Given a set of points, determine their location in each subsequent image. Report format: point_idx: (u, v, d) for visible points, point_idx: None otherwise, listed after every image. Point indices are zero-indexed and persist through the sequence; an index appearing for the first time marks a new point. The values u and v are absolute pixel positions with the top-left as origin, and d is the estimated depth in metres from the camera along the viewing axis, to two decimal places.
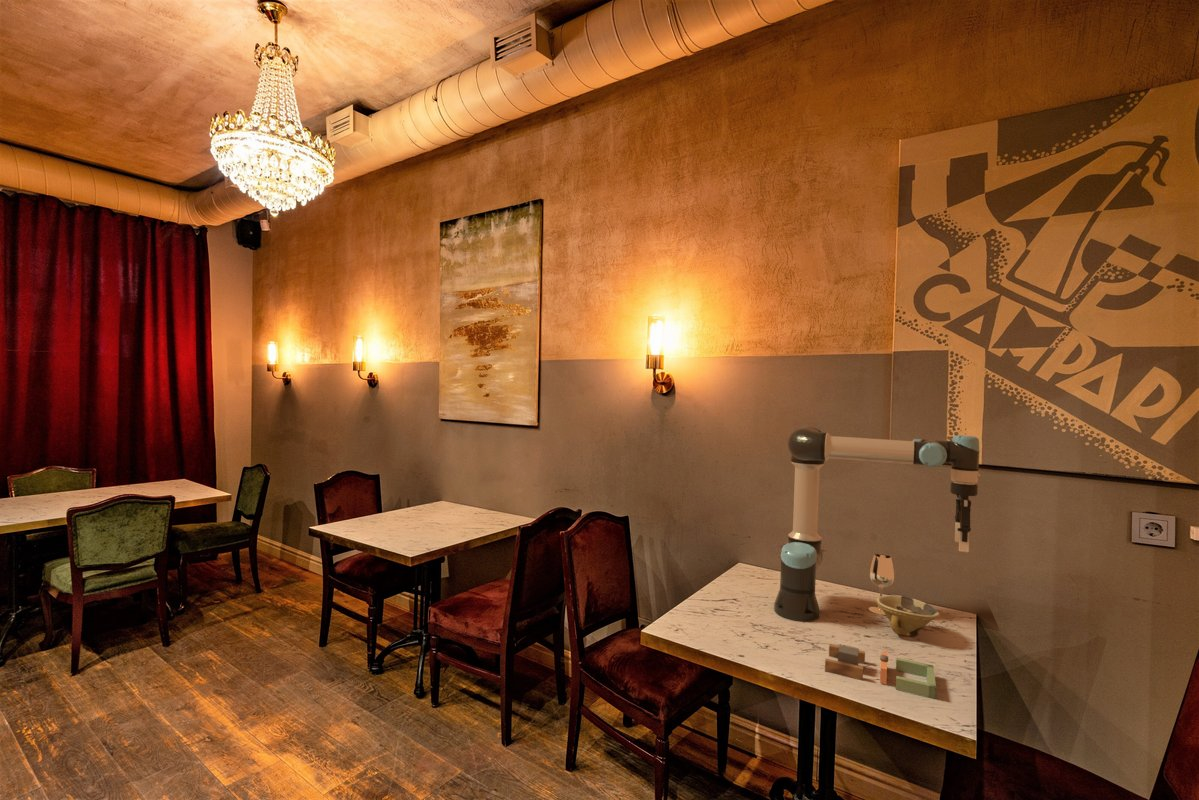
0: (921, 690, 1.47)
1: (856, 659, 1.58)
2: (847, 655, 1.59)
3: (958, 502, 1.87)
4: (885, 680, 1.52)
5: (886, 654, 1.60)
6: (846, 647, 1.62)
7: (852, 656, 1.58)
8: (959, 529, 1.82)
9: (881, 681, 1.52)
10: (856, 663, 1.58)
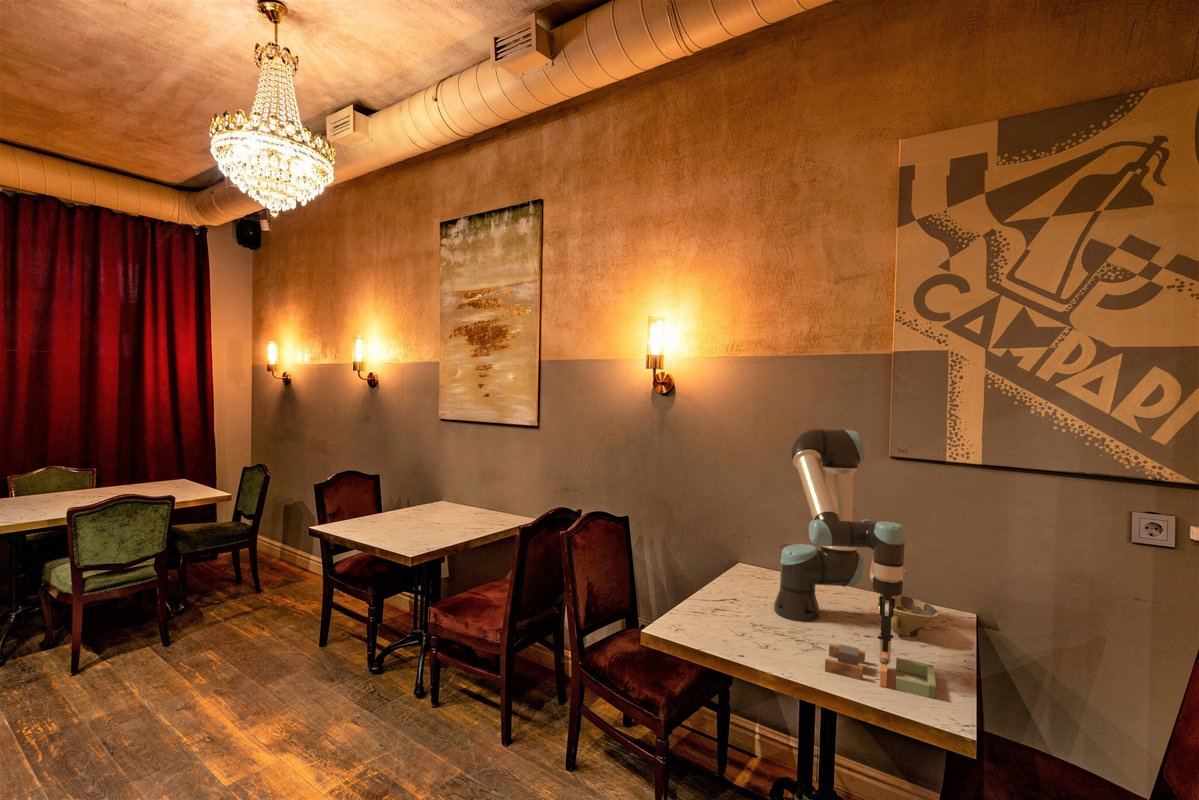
0: (921, 690, 1.47)
1: (856, 659, 1.58)
2: (847, 655, 1.59)
3: (880, 603, 1.59)
4: (885, 683, 1.50)
5: (886, 656, 1.59)
6: (846, 647, 1.62)
7: (852, 656, 1.58)
8: (879, 638, 1.60)
9: (881, 684, 1.51)
10: (856, 663, 1.58)
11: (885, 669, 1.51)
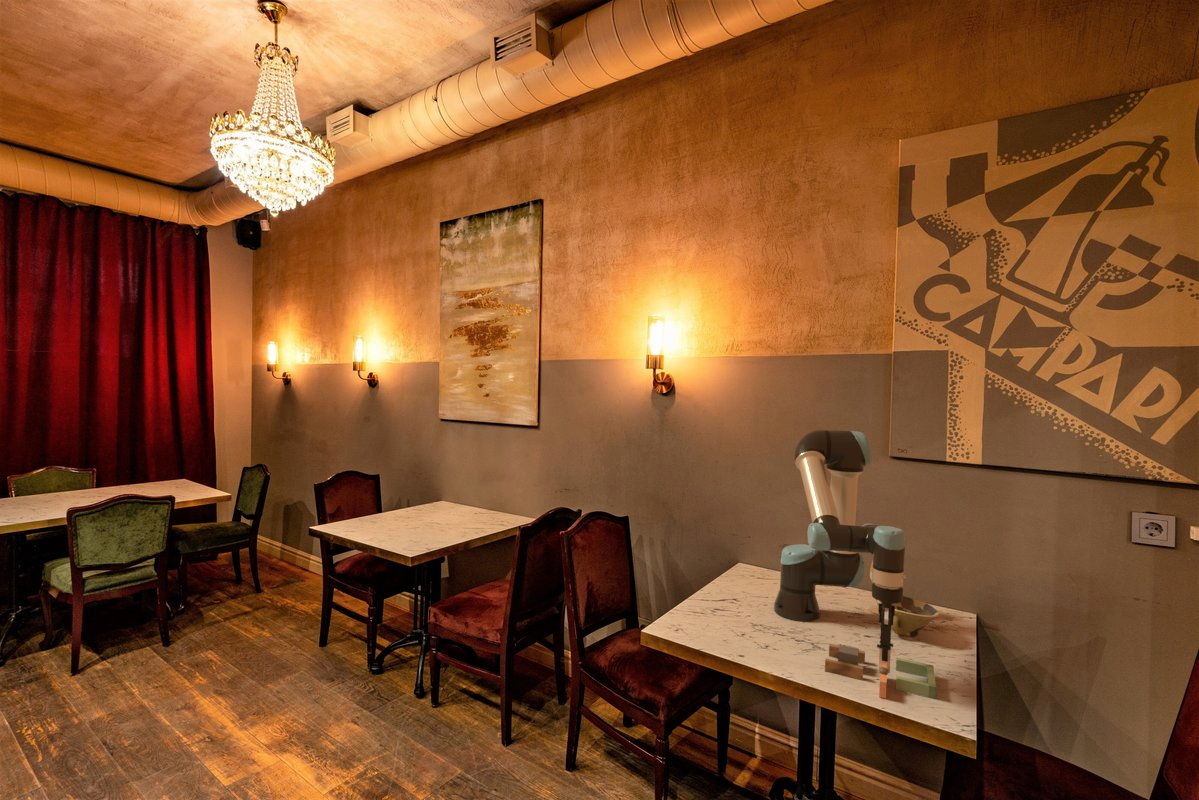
0: (921, 690, 1.47)
1: (856, 659, 1.58)
2: (847, 655, 1.59)
3: (880, 611, 1.54)
4: (884, 694, 1.44)
5: (886, 666, 1.53)
6: (846, 647, 1.62)
7: (852, 656, 1.58)
8: (878, 647, 1.54)
9: (880, 695, 1.45)
10: (856, 663, 1.58)
11: (885, 679, 1.46)
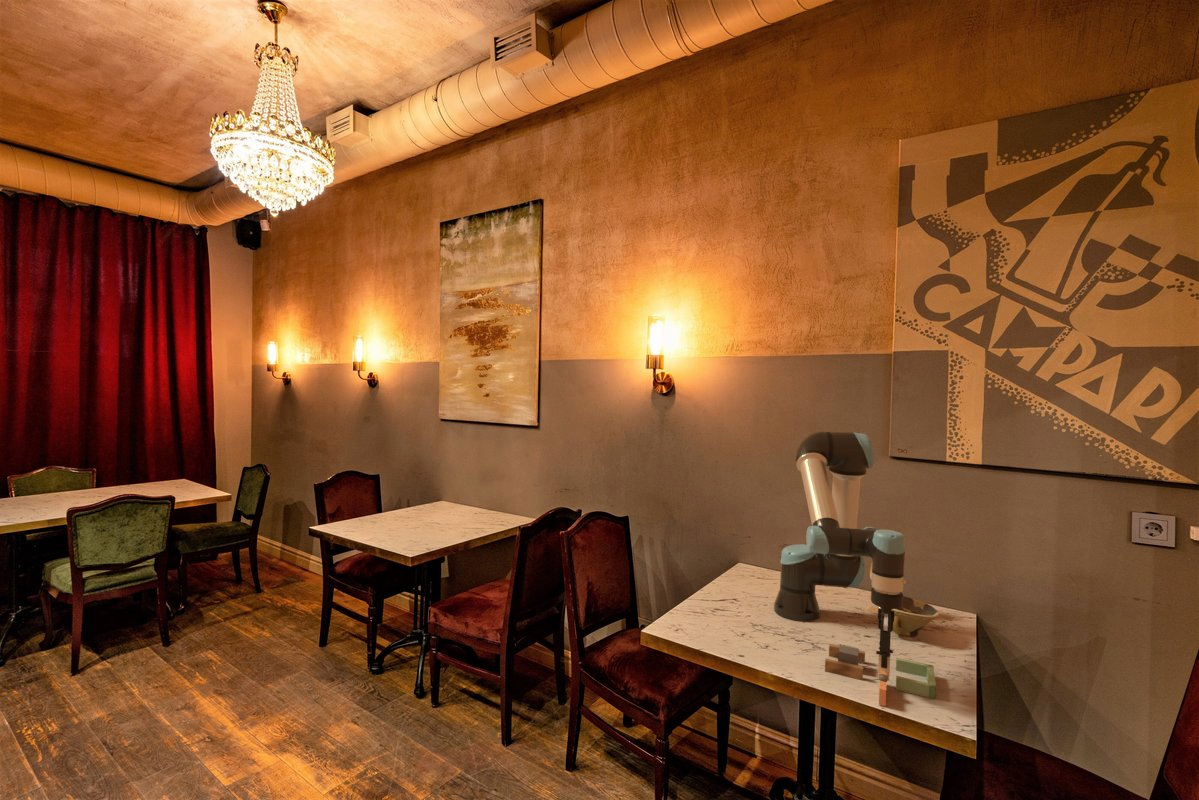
0: (921, 690, 1.47)
1: (856, 659, 1.58)
2: (847, 655, 1.59)
3: (879, 617, 1.50)
4: (884, 702, 1.41)
5: (885, 673, 1.49)
6: (846, 647, 1.62)
7: (852, 656, 1.58)
8: (878, 653, 1.50)
9: (880, 703, 1.41)
10: (856, 663, 1.58)
11: (884, 687, 1.42)
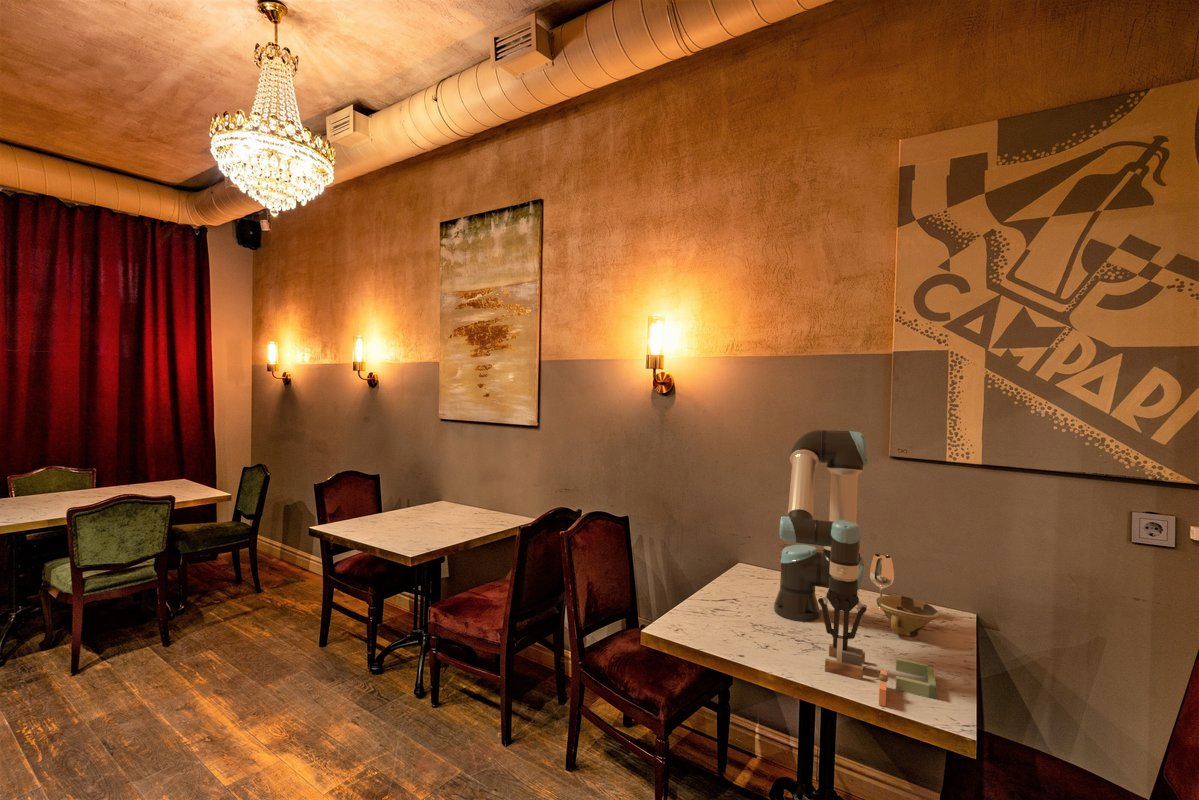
0: (921, 690, 1.47)
1: (860, 660, 1.57)
2: (851, 656, 1.58)
3: None
4: (884, 702, 1.41)
5: (885, 673, 1.49)
6: (850, 648, 1.62)
7: (856, 657, 1.57)
8: None
9: (880, 703, 1.41)
10: (860, 664, 1.57)
11: (884, 687, 1.42)
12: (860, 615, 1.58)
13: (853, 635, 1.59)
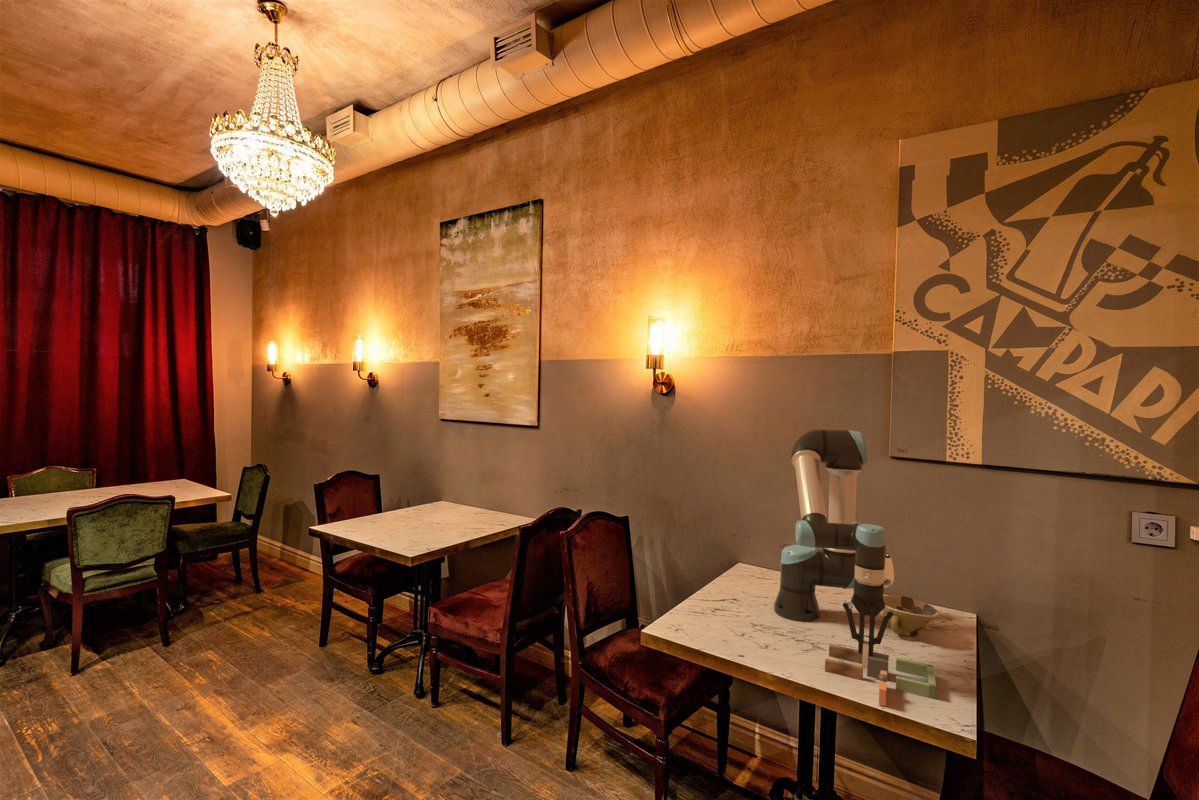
0: (921, 690, 1.47)
1: (886, 666, 1.54)
2: (877, 662, 1.55)
3: None
4: (884, 702, 1.41)
5: (885, 673, 1.49)
6: (875, 653, 1.59)
7: (882, 662, 1.54)
8: None
9: (880, 703, 1.41)
10: (886, 670, 1.54)
11: (884, 687, 1.42)
12: (886, 620, 1.55)
13: (879, 640, 1.56)
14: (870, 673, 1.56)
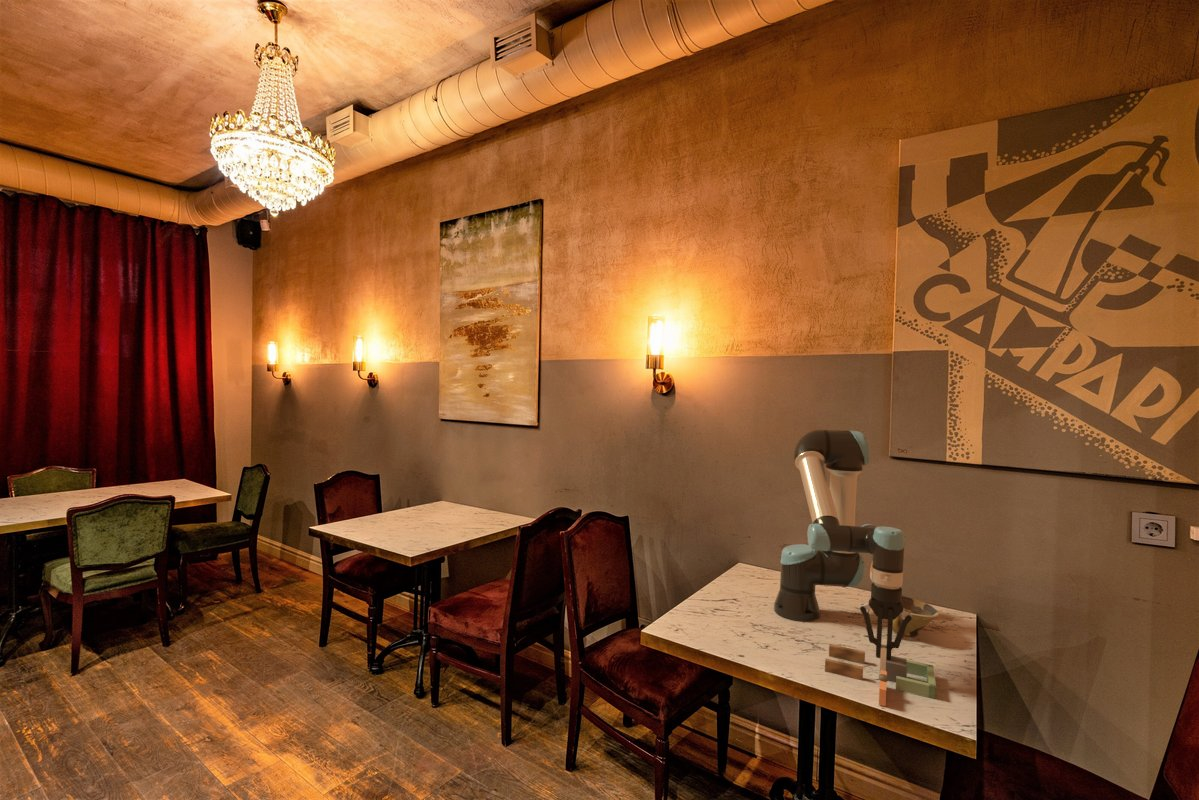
0: (921, 690, 1.47)
1: (905, 670, 1.52)
2: (895, 666, 1.53)
3: None
4: (884, 702, 1.41)
5: (885, 673, 1.49)
6: (893, 657, 1.57)
7: (901, 667, 1.52)
8: None
9: (880, 703, 1.41)
10: (905, 674, 1.52)
11: (884, 687, 1.42)
12: (905, 624, 1.53)
13: (897, 644, 1.54)
14: (888, 677, 1.54)
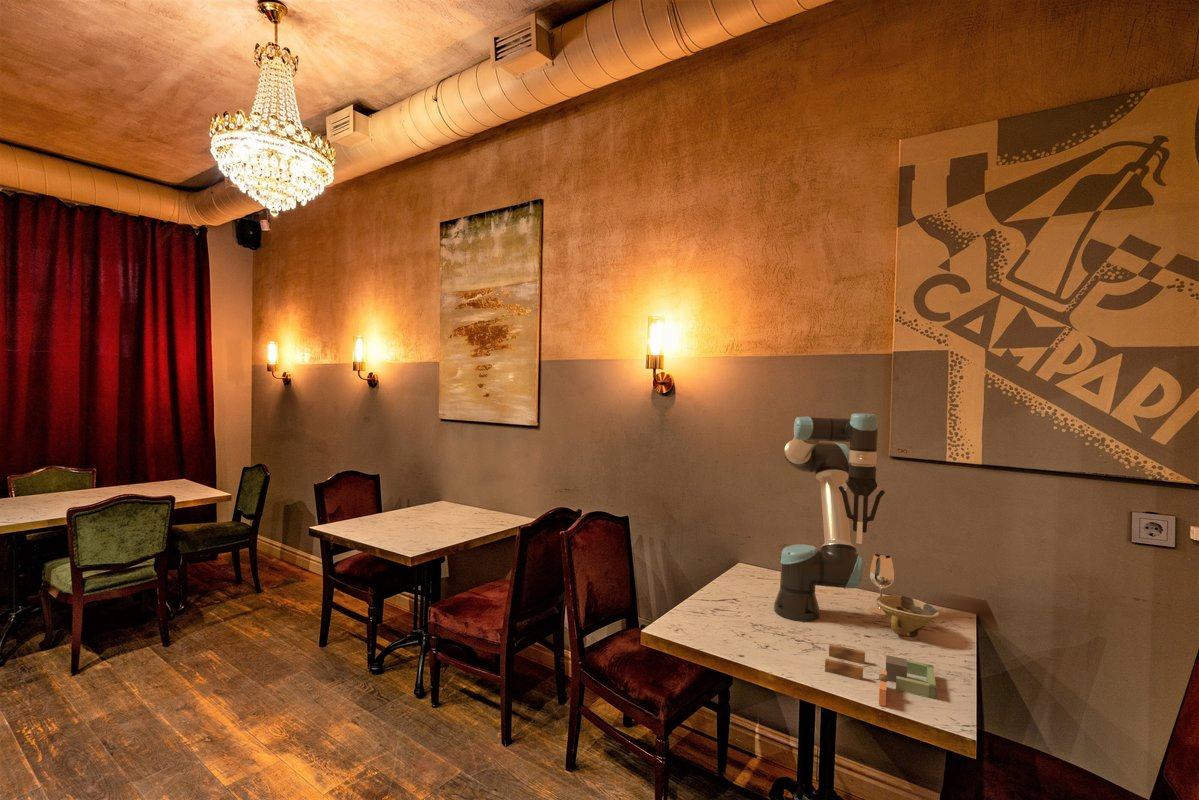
0: (921, 690, 1.47)
1: (905, 670, 1.52)
2: (895, 666, 1.53)
3: None
4: (884, 702, 1.41)
5: (885, 673, 1.49)
6: (893, 657, 1.57)
7: (901, 667, 1.52)
8: None
9: (880, 703, 1.41)
10: (905, 674, 1.52)
11: (884, 687, 1.42)
12: (879, 498, 1.69)
13: (872, 517, 1.69)
14: (888, 678, 1.54)
